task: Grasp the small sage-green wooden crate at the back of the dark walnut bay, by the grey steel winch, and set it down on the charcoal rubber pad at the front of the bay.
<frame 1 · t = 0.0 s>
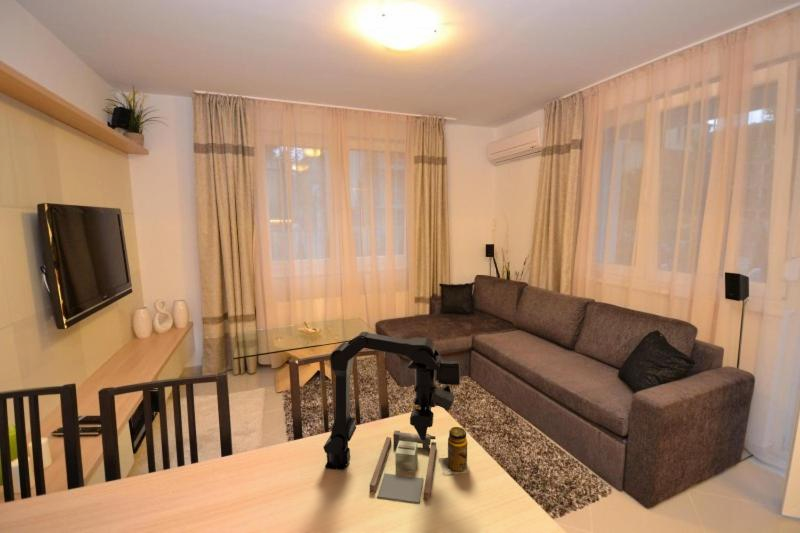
hand: (425, 430, 108), 15 cm above the table, fingers open, 9 cm apart
condiment: (454, 466, 113), on the table
front pad: (400, 488, 104), on the table
bay: (405, 468, 112), on the table
crate: (406, 464, 114), on the table
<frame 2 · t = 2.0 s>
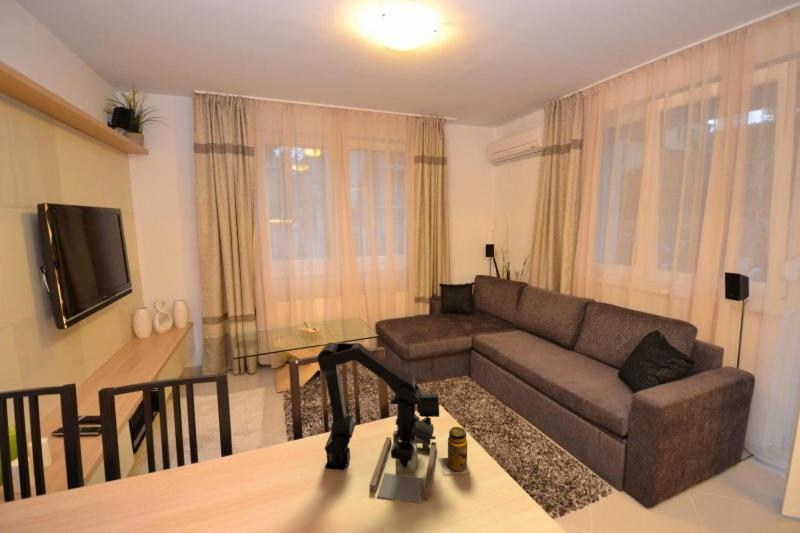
hand: (406, 459, 114), 2 cm above the table, fingers closed on crate, 6 cm apart
crate: (406, 464, 114), on the table, touching gripper
everything else where it was.
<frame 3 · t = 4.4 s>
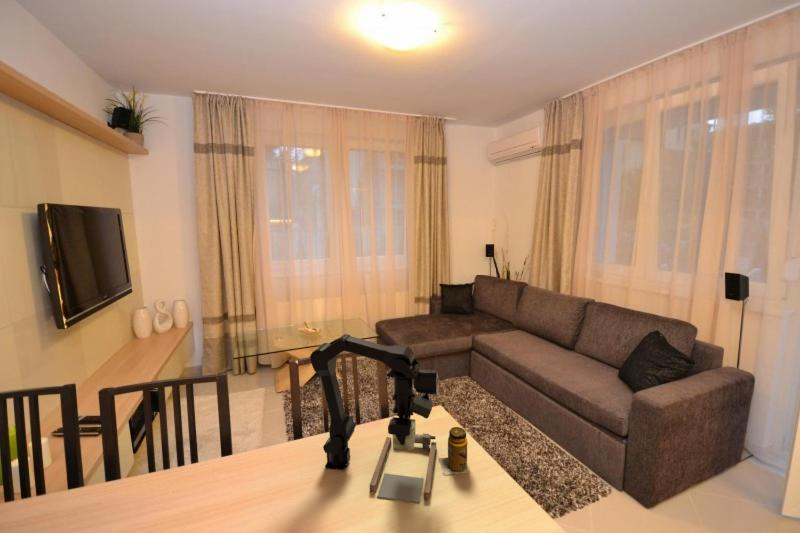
hand: (404, 437, 108), 12 cm above the table, fingers closed on crate, 6 cm apart
crate: (404, 442, 109), point 10 cm above the table, touching gripper
everything else where it was.
when the fingers open (3 cm above the table, at t = 6.9 s): crate drops 2 cm, resting on front pad.
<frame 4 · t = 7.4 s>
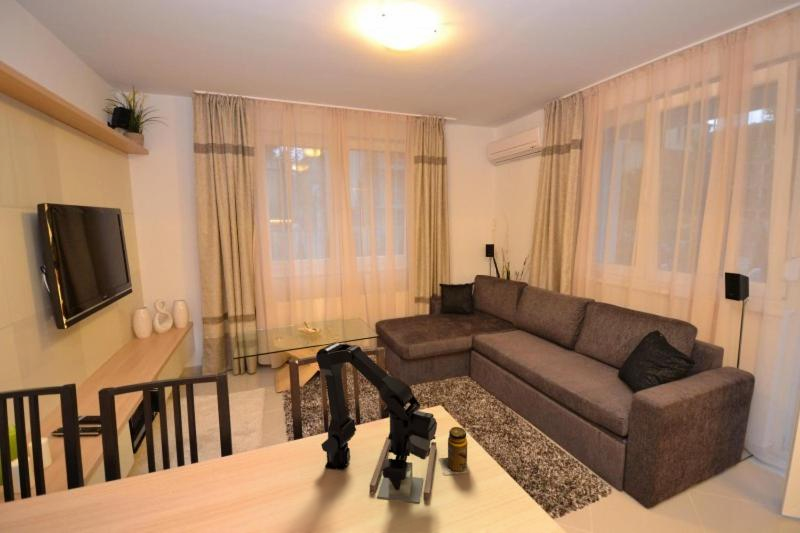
hand: (400, 477, 104), 3 cm above the table, fingers open, 9 cm apart
crate: (400, 487, 104), resting on front pad
everything else where it was.
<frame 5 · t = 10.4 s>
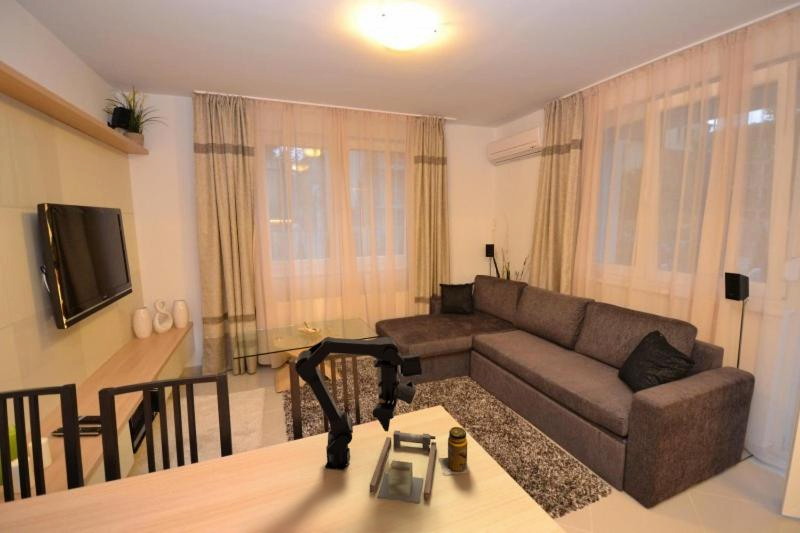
hand: (389, 422, 116), 12 cm above the table, fingers open, 9 cm apart
nothing on the table moved.
at the end: crate inside the target area (0.0 cm from its centre), resting on front pad; crate tilted 0°; the gripper is holding nothing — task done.
